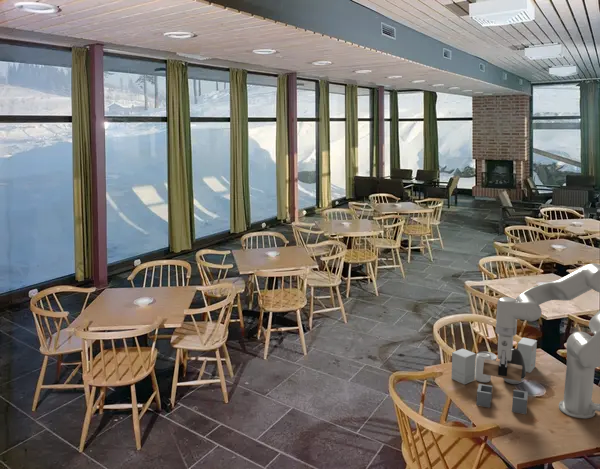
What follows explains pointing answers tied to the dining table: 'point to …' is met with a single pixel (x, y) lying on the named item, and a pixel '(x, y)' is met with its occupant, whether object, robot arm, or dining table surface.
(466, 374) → the supplement box
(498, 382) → the dining table surface
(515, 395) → the endcaps
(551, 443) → the dining table surface
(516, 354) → the dark grey egg shape
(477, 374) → the can
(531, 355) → the small box
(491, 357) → the ramekin
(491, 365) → the slat
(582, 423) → the dining table surface
